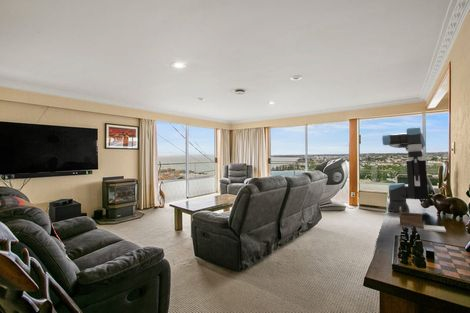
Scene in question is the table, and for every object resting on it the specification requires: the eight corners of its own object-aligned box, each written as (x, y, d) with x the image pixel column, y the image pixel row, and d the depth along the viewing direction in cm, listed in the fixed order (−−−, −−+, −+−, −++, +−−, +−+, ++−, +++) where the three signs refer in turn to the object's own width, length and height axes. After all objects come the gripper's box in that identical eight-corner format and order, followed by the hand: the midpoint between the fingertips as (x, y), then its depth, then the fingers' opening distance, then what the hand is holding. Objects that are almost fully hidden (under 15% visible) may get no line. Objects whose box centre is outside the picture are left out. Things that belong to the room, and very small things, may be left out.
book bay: (400, 220, 169) (399, 206, 170) (422, 222, 162) (420, 207, 163) (400, 224, 159) (399, 209, 160) (422, 226, 152) (421, 211, 153)
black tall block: (428, 199, 150) (425, 155, 152) (414, 199, 152) (411, 155, 153) (422, 198, 157) (418, 155, 159) (408, 198, 159) (405, 156, 161)
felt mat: (423, 226, 153) (423, 224, 153) (444, 228, 147) (444, 226, 147) (424, 230, 145) (424, 228, 145) (446, 232, 139) (446, 230, 139)
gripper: (408, 152, 167) (410, 184, 166) (407, 150, 150) (409, 186, 149) (422, 151, 163) (424, 184, 162) (422, 150, 145) (425, 186, 144)
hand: (417, 185), depth 155 cm, fingers closed on black tall block, 9 cm apart
